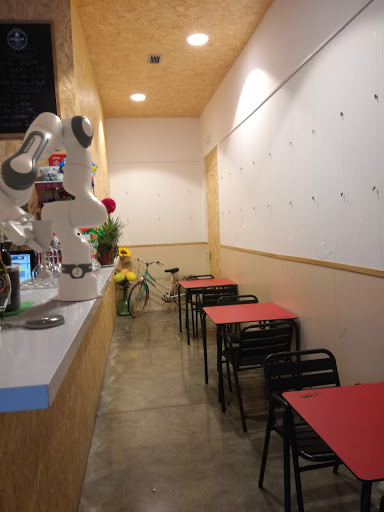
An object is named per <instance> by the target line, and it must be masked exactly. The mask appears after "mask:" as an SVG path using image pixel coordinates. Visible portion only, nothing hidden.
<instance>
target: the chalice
mask: <svg viewBox="0 0 384 512" xmlns="http://www.w3.org/2000/svg"><path fill="white" fill-rule="evenodd" d="M53 222H54V220H42V219H40V220H39V219H37V220H36V219H34V221H31V223H32V230H33V234H34V236H35V238H34V241H35V242H36V243H37V244H38V245H41V246H42V247H43V248H44V251H43V252H42V253H41V255H40V256H41V258H42V261H41V264H42V269H41V270H39V271H38V274H37V277H36V279H37V280H43V279H46V280H47V279H53V278H54V275H53V273H52V272H51V270H50V269H48V268H47V263H48V261H47V260H46V259H47V256H48V255H47V254H46V253H47V252H46V250H47V249H49V246H50V247H51V244H52V243H53V238H54V232H53Z"/></svg>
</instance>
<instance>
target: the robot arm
mask: <svg viewBox="0 0 384 512" xmlns="http://www.w3.org/2000/svg"><path fill="white" fill-rule="evenodd" d="M94 130H95V129H94V127H93V124H92V122H91V120H90V119H89V118H88V117H86V116H85V115H74V116H72V117H67V118H66V117H65V118H63V119H61V118H59V116H57V115H56V114H55V113H52V112H49V111H47V112H45V111H44V112H41V113H40V114H39V115H38V116H37V117H36V118H35V119H34V120H33V121H32V123H30V125H29V127H28V129H27V130H26V133H25V135H24V137H23V142H22V145H21V146H20V147H19V149H18V150H17V152H16V153H15V154H13V155H11V156H10V157H8V158H6V159H5V160H4V161H3V162H2V164H1V168H0V169H1V172H0V173H1V174H0V230H1V232H2V233H3V234H4V236H5V237H6V238H7V239H8V240H9V241H10V242H11V243H12V244H14V245H16V246H27V247H29V248H31V249H33V250H34V251H36V252H37V253H38V254H42V252H43V251H44V248H43V247H42V246H41V245H38V244H37V243H36V242H35V241H34V238H35V236H34V234H33V230H32V223H31V221H34V220H35V217H34V215H32V214H31V213H29V212H27V211H25V210H24V209H23V208H21V207H23V206H26V205H27V204H28V203H30V202H29V201H30V200H31V197H32V193H33V190H34V185H35V183H36V180H37V177H38V165H37V164H38V162H39V161H40V160H46V159H47V160H48V159H49V158H51V156H52V155H53V154H54V153H55V152H60V151H61V150H64V151H65V153H66V157H65V160H64V165H63V176H62V187H63V189H64V191H65V192H67V193H68V194H70V195H72V196H74V197H75V199H74V200H56V201H52V202H49V203H45V204H44V205H43V207H42V208H41V212H40V220H54V222H53V234H54V235H55V236H56V238H57V240H58V243H59V245H60V253H61V265H60V271H61V274H60V277H59V278H57V295H55V296H54V297H53V301H60V302H61V301H63V302H78V301H80V302H81V301H88V300H93V299H96V298H102V297H103V293H101V292H99V291H98V278H97V276H96V275H95V274H94V273H93V262H92V256H91V253H92V252H91V244H90V242H89V241H88V240H87V239H85V238H83V237H81V236H79V235H78V233H77V232H76V231H77V230H76V229H93V228H98V227H101V226H103V225H104V224H105V223H106V221H107V218H108V210H107V208H106V205H105V204H104V203H103V202H102V201H100V200H99V199H98V198H97V197H96V196H95V194H94V192H93V187H92V186H93V185H92V183H93V182H92V175H93V160H92V153H91V151H90V149H89V147H90V146H91V145H92V140H93V138H94V132H95V131H94ZM51 250H52V246H51V245H50V246H49V249H47V250H46V252H45V253H47V252H50V251H51Z"/></svg>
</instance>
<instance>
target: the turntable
mask: <svg viewBox="0 0 384 512" xmlns="http://www.w3.org/2000/svg"><path fill="white" fill-rule="evenodd" d="M65 322H66V320H65V316H64V315H62V314H42V315H36V316H31V317H28V318H27V319H25V321H24V328H26V329H28V330H29V329H30V330H43V329H50V328H56V327H59V326H62V325H64V324H65Z"/></svg>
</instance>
